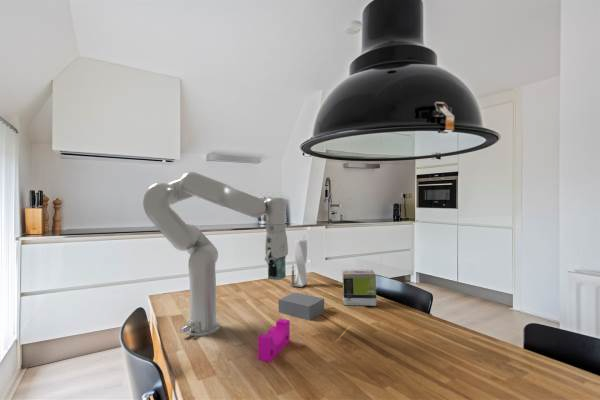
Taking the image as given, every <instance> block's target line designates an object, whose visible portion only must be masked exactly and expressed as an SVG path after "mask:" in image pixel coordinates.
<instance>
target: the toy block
mask: <svg viewBox="0 0 600 400" xmlns="http://www.w3.org/2000/svg"><path fill="white" fill-rule="evenodd" d="M290 324H291V323H290V320H289V319H286V318H284V319H283V318H278V319H277V320H276V323H275V325H273V326H272V327H270V328H269V329H268V330H267V332H266V333H265V334H264V333H261V334H259V335H258V337H257V341H258V342H257V343H258V344H257V345H258V347H257V349H258V355H257V356H258V357H257V360H258V361H262V362H267V363H271V361H272V360H273V359H275V357H276V356H277V355H278V354H279V353H280V352H281V351H282V350H283V349H284V347H286V345H287V344H289V342H290V340H291V339H290V331H291V330H290Z"/></svg>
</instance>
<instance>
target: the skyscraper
mask: <svg viewBox="0 0 600 400" xmlns="http://www.w3.org/2000/svg"><path fill="white" fill-rule="evenodd" d="M301 237H302V238H301ZM307 257H308V241H307V239H305V235H300V236H299V235H298V236H297V237H296V238H295V240H294V260H295V264H296V265H295V266H296V267H294V265H292V266H291V269H292V270H291V284H290V286H291V287H297V288H298V287H299V288H303V287H305V286H306V285H308V277H307V276H308V275H307V268H306V265H307V264H306V263H307ZM294 268H296V270H294Z"/></svg>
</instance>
